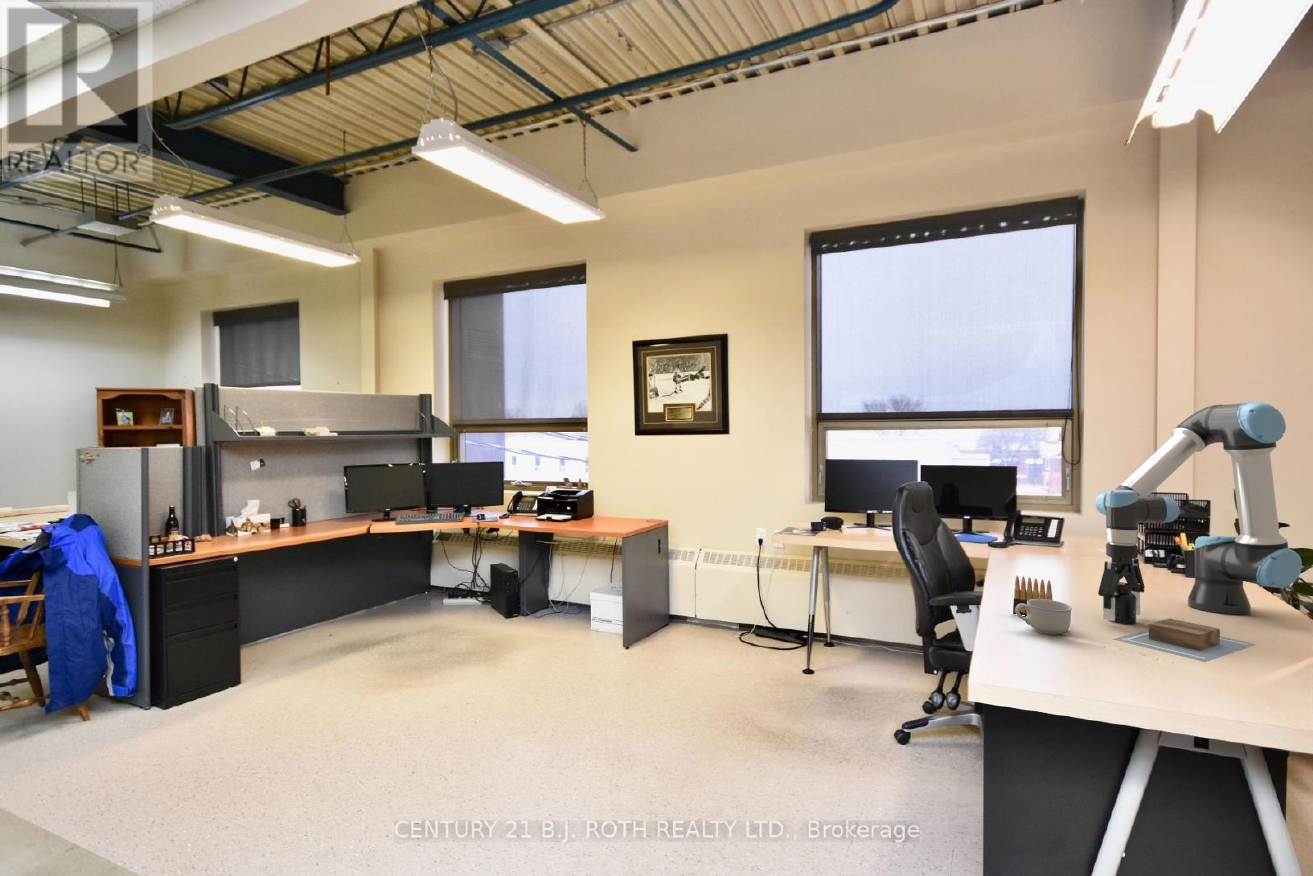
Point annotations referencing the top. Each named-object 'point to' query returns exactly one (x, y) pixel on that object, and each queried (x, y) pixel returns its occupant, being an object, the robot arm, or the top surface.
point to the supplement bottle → (1124, 604)
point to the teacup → (1046, 616)
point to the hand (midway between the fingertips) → (1121, 617)
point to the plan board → (1202, 655)
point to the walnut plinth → (1184, 634)
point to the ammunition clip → (1029, 593)
